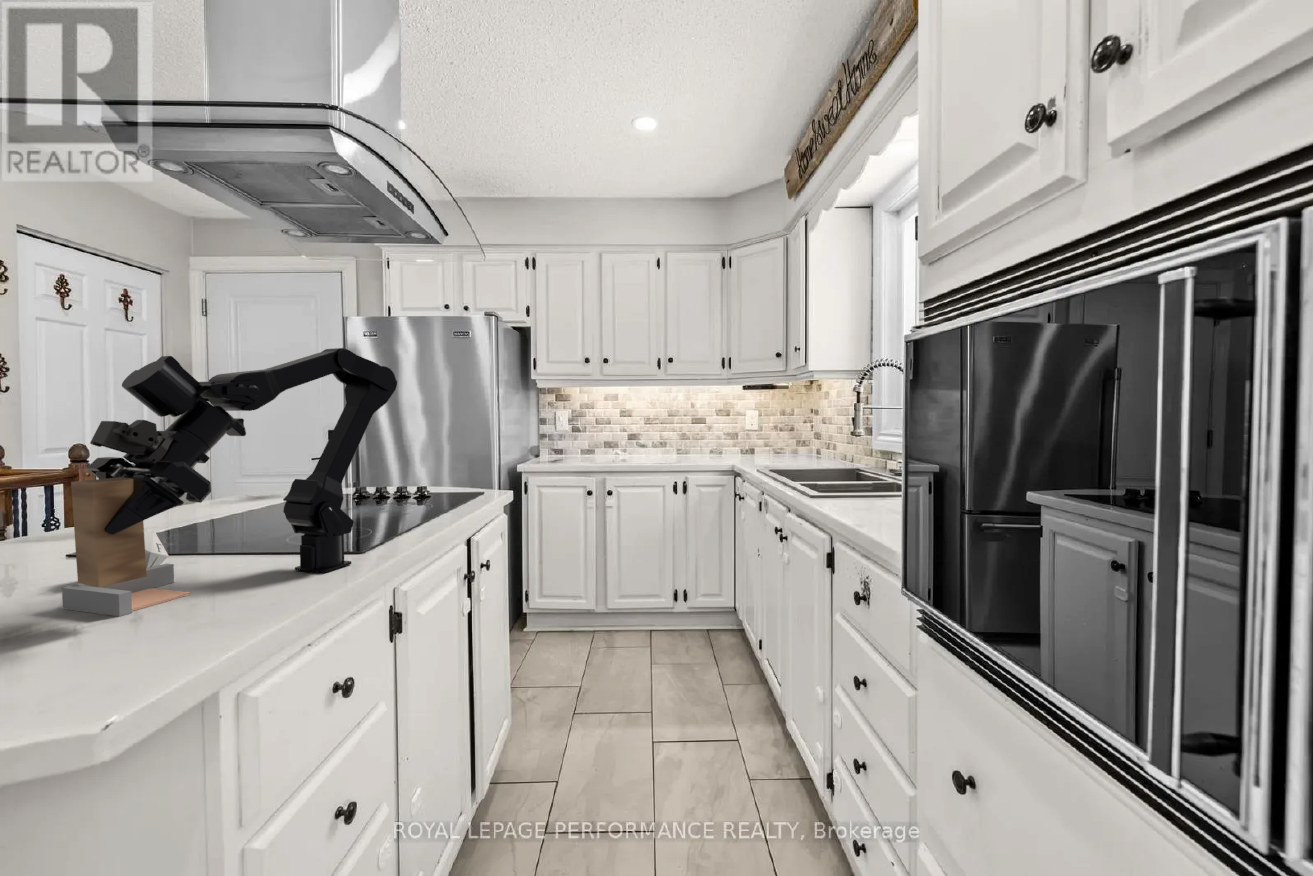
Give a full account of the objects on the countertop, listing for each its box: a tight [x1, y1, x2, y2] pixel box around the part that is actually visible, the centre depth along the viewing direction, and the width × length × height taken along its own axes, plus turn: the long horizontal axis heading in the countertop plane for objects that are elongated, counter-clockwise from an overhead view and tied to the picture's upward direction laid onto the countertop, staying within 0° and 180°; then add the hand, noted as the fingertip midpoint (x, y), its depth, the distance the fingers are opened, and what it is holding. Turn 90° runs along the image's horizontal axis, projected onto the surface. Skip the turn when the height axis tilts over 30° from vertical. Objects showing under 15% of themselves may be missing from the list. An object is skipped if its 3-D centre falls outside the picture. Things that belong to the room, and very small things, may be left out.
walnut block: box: [70, 477, 147, 587], centre depth 77 cm, size 5×5×13 cm
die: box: [144, 529, 169, 568], centre depth 98 cm, size 8×9×10 cm
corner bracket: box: [61, 563, 175, 617], centre depth 88 cm, size 14×11×3 cm
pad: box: [131, 588, 190, 612], centre depth 87 cm, size 8×8×1 cm
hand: (96, 530), depth 75 cm, fingers closed on walnut block, 5 cm apart
